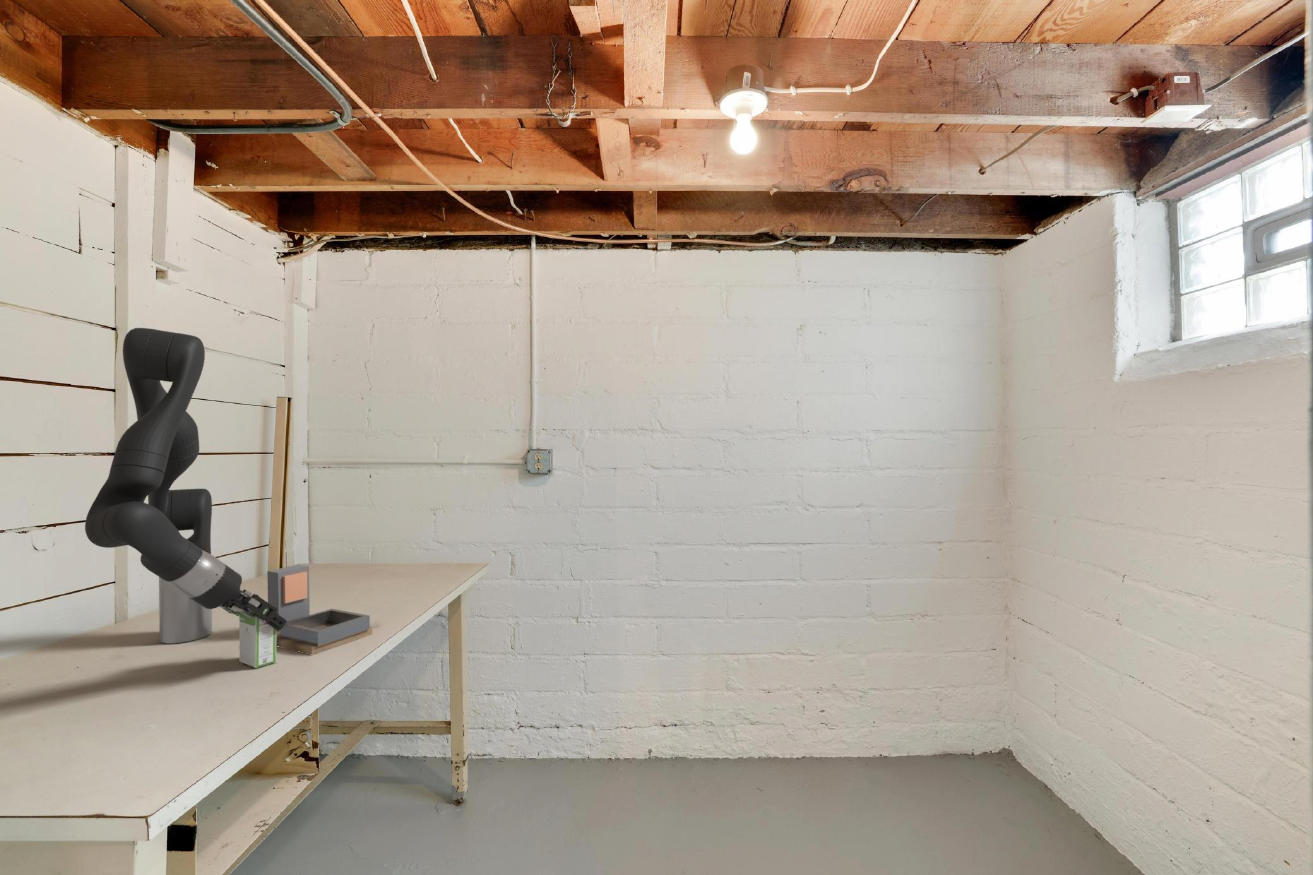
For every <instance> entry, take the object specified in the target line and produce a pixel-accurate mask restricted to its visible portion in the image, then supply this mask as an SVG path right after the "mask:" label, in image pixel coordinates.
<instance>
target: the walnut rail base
mask: <svg viewBox="0 0 1313 875" xmlns="http://www.w3.org/2000/svg"><path fill="white" fill-rule="evenodd" d="M333 625H336V624H332V623H330V624H327V625H324V626H320V627H317V628H314V629H318V630H320V629H324V628H327V627H330V626H333ZM371 635H373V626H370V629H368V630H365V631H362V632H359V633H356V634H354V635H351V636H348V637H345V638H342V639H339V640H336V641H333V642H330V643H327V644H324V645H321V646H313V645H309V644H305V643H301V642H296V641H292V640H288V639H284V638H280V631H276V647H277V646H279V647H278V648H281V647H282V648H281V649H285V648H287V649H286V650H289V649H292V650H291V651H293V650H295V651H294V652H297V651H300V652H299V653H301V652H303V653H302V654H305V653H308V654H307V655H309V654H314V655H316V654H319V653H321V652H320V651H322V652H325V651H327V649H328V650H331V649H334V648H337V647H339V646H342V645H345V644H347V643H351V642H353V641H356V640H359V639H361V638H365V637H367V636H371ZM330 648H331V649H330ZM324 650H325V651H324ZM318 652H319V653H318ZM315 653H316V654H315Z"/></svg>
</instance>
